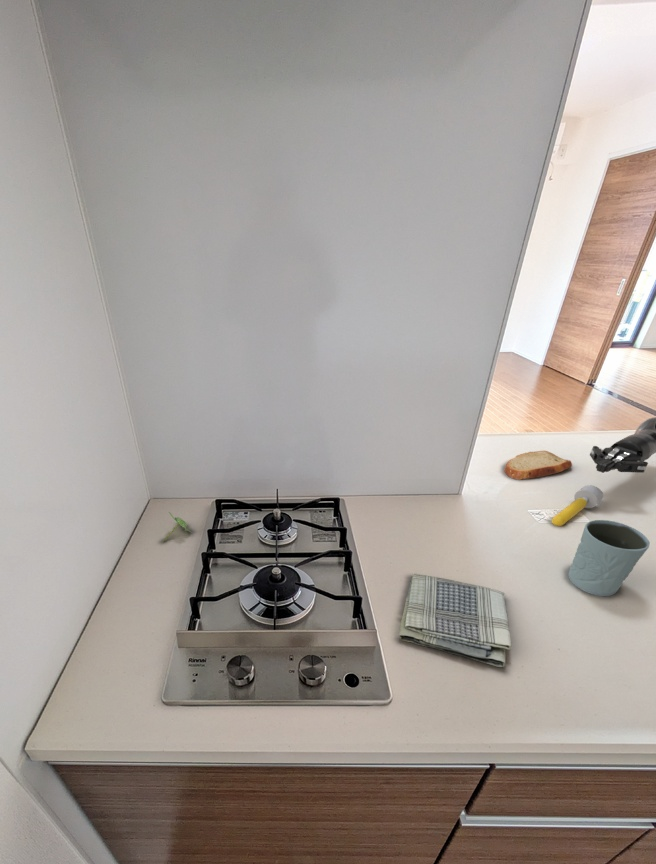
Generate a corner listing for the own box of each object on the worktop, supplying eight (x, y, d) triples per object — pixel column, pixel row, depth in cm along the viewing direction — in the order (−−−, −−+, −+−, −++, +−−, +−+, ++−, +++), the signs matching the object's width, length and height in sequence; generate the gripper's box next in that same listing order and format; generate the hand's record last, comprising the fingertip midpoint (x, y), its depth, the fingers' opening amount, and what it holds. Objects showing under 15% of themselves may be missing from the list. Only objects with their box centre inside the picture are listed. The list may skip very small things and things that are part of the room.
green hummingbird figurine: (175, 551, 107) (191, 530, 109) (177, 551, 100) (194, 528, 101) (151, 533, 106) (168, 512, 108) (151, 532, 99) (169, 509, 100)
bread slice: (504, 478, 125) (508, 466, 123) (503, 452, 139) (506, 441, 137) (576, 489, 119) (581, 477, 117) (567, 461, 133) (572, 450, 131)
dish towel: (409, 576, 91) (411, 564, 89) (503, 597, 85) (507, 585, 84) (396, 643, 77) (399, 630, 75) (508, 674, 71) (514, 661, 69)
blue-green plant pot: (557, 581, 89) (578, 534, 82) (572, 558, 95) (593, 513, 88) (615, 607, 83) (644, 558, 76) (627, 580, 89) (655, 533, 82)
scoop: (600, 484, 108) (563, 514, 102) (605, 503, 110) (569, 533, 103) (578, 485, 113) (541, 513, 107) (583, 503, 114) (547, 532, 108)
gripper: (610, 428, 117) (578, 444, 109) (669, 445, 107) (638, 464, 99) (599, 454, 121) (567, 471, 113) (655, 472, 112) (624, 492, 104)
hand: (601, 468), depth 106 cm, fingers closed
